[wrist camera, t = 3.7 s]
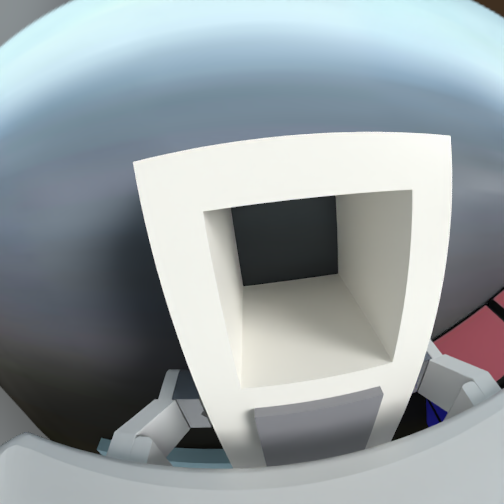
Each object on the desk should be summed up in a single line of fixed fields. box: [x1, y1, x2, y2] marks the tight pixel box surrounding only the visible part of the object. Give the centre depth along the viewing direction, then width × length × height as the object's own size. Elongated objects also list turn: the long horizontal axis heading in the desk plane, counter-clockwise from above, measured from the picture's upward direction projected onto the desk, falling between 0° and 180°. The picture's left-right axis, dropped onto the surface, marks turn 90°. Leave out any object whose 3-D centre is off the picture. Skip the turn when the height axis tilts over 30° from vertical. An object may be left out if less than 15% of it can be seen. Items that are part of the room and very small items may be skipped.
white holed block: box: [133, 132, 452, 468], centre depth 9 cm, size 16×6×5 cm, turn 8°
